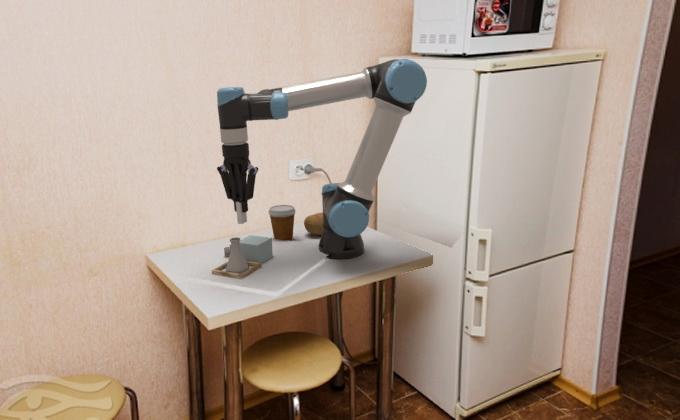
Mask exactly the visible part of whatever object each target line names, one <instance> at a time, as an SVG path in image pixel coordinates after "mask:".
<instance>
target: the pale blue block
mask: <svg viewBox="0 0 680 420" xmlns="http://www.w3.org/2000/svg"><path fill="white" fill-rule="evenodd" d="M240 247H241V251H242V253H243V255H244V258H245V260H246V261H250V262H256V263H262V264H263V263H265V262H266V261H267V260H269V259H271V258H273V254H274V253H273V240H272V237H269V236H260V235H253V234H249V235H248V236H245V237H244V238H242V239H240Z"/></svg>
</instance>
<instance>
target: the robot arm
mask: <svg viewBox="0 0 680 420" xmlns="http://www.w3.org/2000/svg"><path fill="white" fill-rule="evenodd" d="M427 79H428V78H427V75H426V72H425V70H424V68H423V67H422V65H420V63H417V62H416V61H414V60H411V59H408V58H401V59H397V58H395V59H390V60H387V61H385V62H381V63H378V64H376V65H371V66H368V67H364V68H363V69H362V71H360V72H358V71H357V72H355V73H348V74H343V75H342V74H341V75H338V76H333V77H327V78H322V79H316V80H312V81H307V82H303V83H302V82H301V83H296V84H291V85H286V86H281V87H276V88H271V89H270V88H269V89H268V88H266V89H261V90H260V91H258V92H257V93H256V92H255V93H246V92H245V89H244V88H243V86H228V87H220V88H218V90H217V91H216V98H217V100H216V101H217V112H218V121H219V123H218V124H219V130H220V131H219V132H220V142H221V143H222V144H221V150H222V151H221V152H222V153H221V154H222V158H223V162H222V164H221V165H220V166H217V167H216V170H217V172H218V173H219V175H220V179H221V182H222V185H223V189H224V191H225V195H226V197H227V199H228V200H231V201H232V202H233V206H234V207H233V208H234V212H236V218H237V224H239V225H243V224H245V223H247V222H248V216H247V215H248V214H247V212H248V211H249V204H248V201H249V200H251V199H253V198H254V191H255V184H256V175H257V173H258V171H259V168H258V166H253V165H252V163H251V161H250V146H249V145H250V144H249V143H248V141H249V136H248V135H249V134H248V124H247V122H251V121H270V120H271V121H272V120H274V121H275V120H276V121H278V120H283V119H287V118H288V117H289V112H292V111H297V110H302V109H303V110H304V109H309V108H313V107H318V106H319V107H320V106H323V105H329V104H334V103H340V102H345V101H350V100H355V99H360V98H361V99H362V98H368V99H369V100H372V99H373V100H374V103H375V107H374V110H373V112H372V115H371V117H370V120H369V122H368V124H367V126H366V129H365V131H364V135H363V137H362V139H361V142H360V144H359V146H358V149H357V152H356V154H355V156H354V159H353V161H352V164H351V166H350V168H349V171H348V173H347V175H346V178H345V180H344V181H342V182H334V183H327V184H324V185H322V188H321V196H322V197H321V198H322V204H321V205H322V213H323V232H322V235H320V239H319V242H318V251H319V252H320V253H321V254H325V255H326V256H325V258H328V259H335V260H337V259H338V260H339V259H340V260H342V259H343V260H344V259H352V258H353V259H354V258H356V257H359V256H361V255H362V254H364V253H365V243H364V241H363V238H362V237H363V236H362V233H363V232H364V231H365V230H366V229H367V227H368V225H369V222H370V210H371V208H372V205H373V203H374V200H375V197H374V195H373V190H374V188H375V186H376V183H377V181H378V178H379V176H380V173H381V171H382V169H383V166H384V164H385V161H386V159H387V157H388V155H389V152H390V151H391V150H390V149H391V147H392V145H393V142H394V140H395V137H396V135H397V134H398V131H399V128H400V126H401V123H402V120H403V118H404V117H406V116H407V115H409V114H411V113H412V111H413V108H414V106H415V104H416V102H417V101H418V100H419V99H420V98H421V97H422V96H423V95H424V94H425V92H426V88H427V83H428V80H427Z"/></svg>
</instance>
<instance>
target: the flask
mask: <svg viewBox="0 0 680 420" xmlns="http://www.w3.org/2000/svg"><path fill="white" fill-rule="evenodd" d="M240 240H241V237H231V238H229V242H230V245H231V252H230V256H229V258H228V260H227V262H228V263H227V267H226V268H225V272H231V273H237V274H242V273H243V272H245V271H247V270H248V269H250V266H248V264H247V262H246V260H245V258H244V255H243V253H242V251H241V247H240Z"/></svg>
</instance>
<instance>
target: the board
mask: <svg viewBox="0 0 680 420" xmlns="http://www.w3.org/2000/svg"><path fill="white" fill-rule="evenodd" d="M223 249H224V258H226V259H227V258H228V259H229V256H230V252H231V244H230V245H229V246H225V247H224V248H223ZM246 262H247V264H248V266H249V269H248V270H247V271H245V272H243V273H242V274H237V273H231V272H226V267H227V263H228V261H227V262H225V263H223V264H221V265H219V266H217V267H216V268H213V269H211V275H215V276H220V277H226V278H231V279H232V278H233V279H239V280H242V279H245V278H246V277H248V276H249V275H251V274H253V273H254V272H256V271H258V270H259V269H261V268H262V266H263V265H262V264H263V262H262V263H256V262H250V261H246ZM224 269H225V270H224Z"/></svg>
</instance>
